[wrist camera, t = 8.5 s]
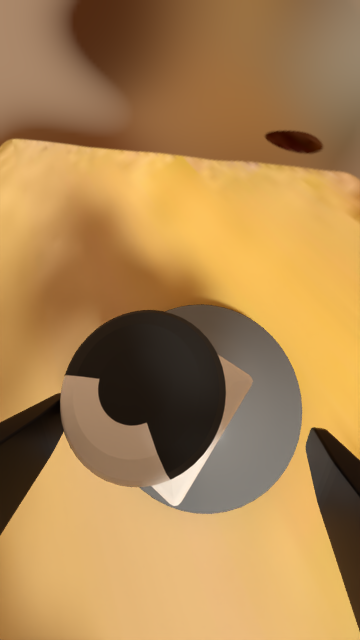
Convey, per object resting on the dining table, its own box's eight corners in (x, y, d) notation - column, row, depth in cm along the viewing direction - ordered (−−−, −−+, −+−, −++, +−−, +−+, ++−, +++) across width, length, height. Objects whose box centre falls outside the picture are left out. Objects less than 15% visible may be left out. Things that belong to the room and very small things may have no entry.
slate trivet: (336, 459, 17) (347, 463, 16) (137, 540, 17) (130, 551, 15) (242, 289, 23) (244, 281, 22) (96, 344, 23) (88, 340, 22)
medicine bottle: (168, 342, 20) (125, 260, 9) (238, 390, 18) (288, 356, 7) (117, 411, 19) (-11, 409, 8) (187, 473, 17) (150, 595, 5)
